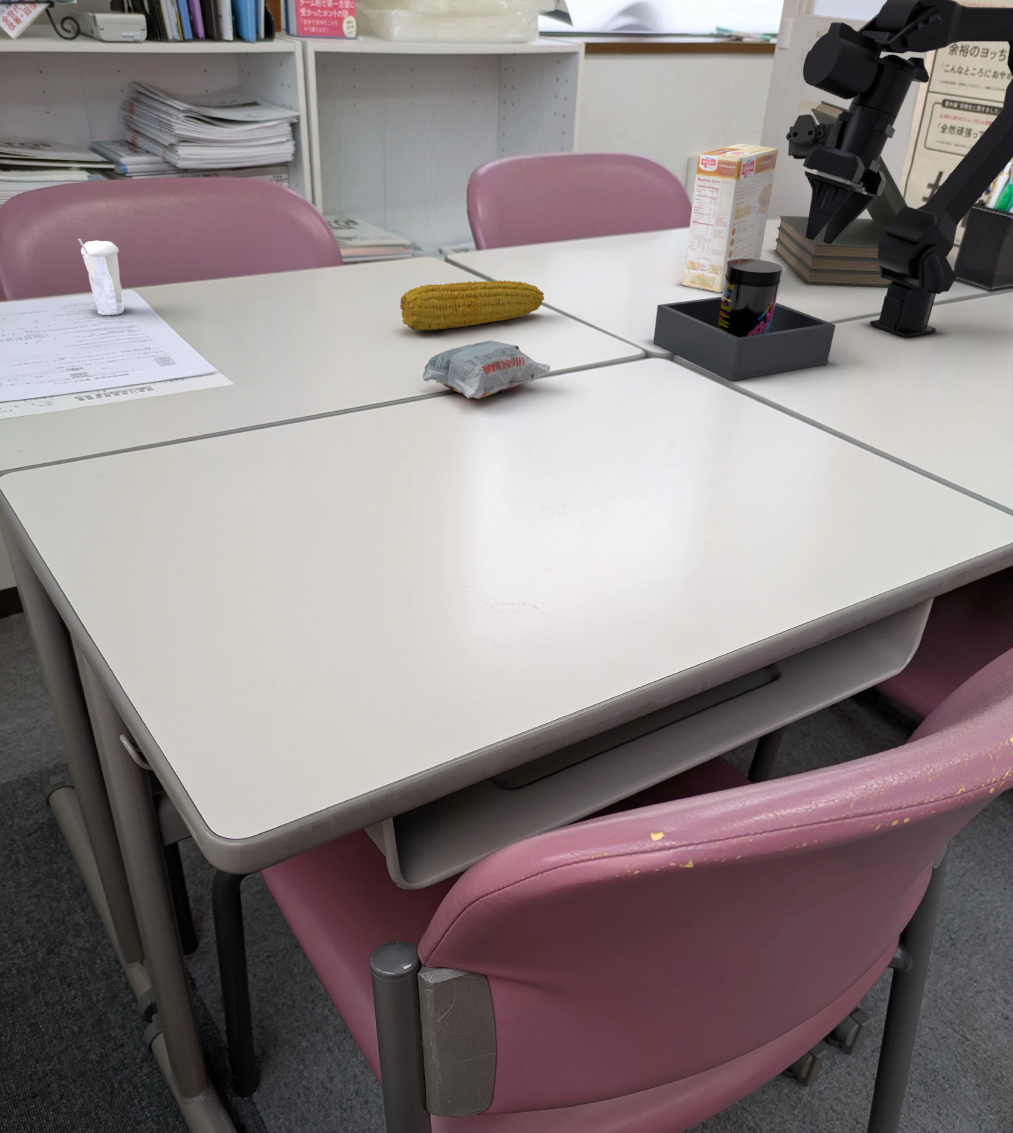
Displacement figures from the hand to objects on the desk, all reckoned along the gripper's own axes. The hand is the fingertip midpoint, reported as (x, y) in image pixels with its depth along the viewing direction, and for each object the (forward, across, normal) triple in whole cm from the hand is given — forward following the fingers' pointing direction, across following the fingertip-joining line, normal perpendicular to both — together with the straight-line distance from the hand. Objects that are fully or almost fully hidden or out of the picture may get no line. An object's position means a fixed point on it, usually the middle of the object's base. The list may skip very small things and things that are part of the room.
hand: (818, 241), depth 120 cm
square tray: (+15, +8, -2) cm, 17 cm away
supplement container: (+15, +8, -2) cm, 17 cm away
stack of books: (+4, -46, -5) cm, 47 cm away
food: (+23, +19, -35) cm, 46 cm away
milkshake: (+36, +45, -74) cm, 94 cm away
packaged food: (+25, +38, -19) cm, 50 cm away
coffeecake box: (+11, -25, -19) cm, 33 cm away
